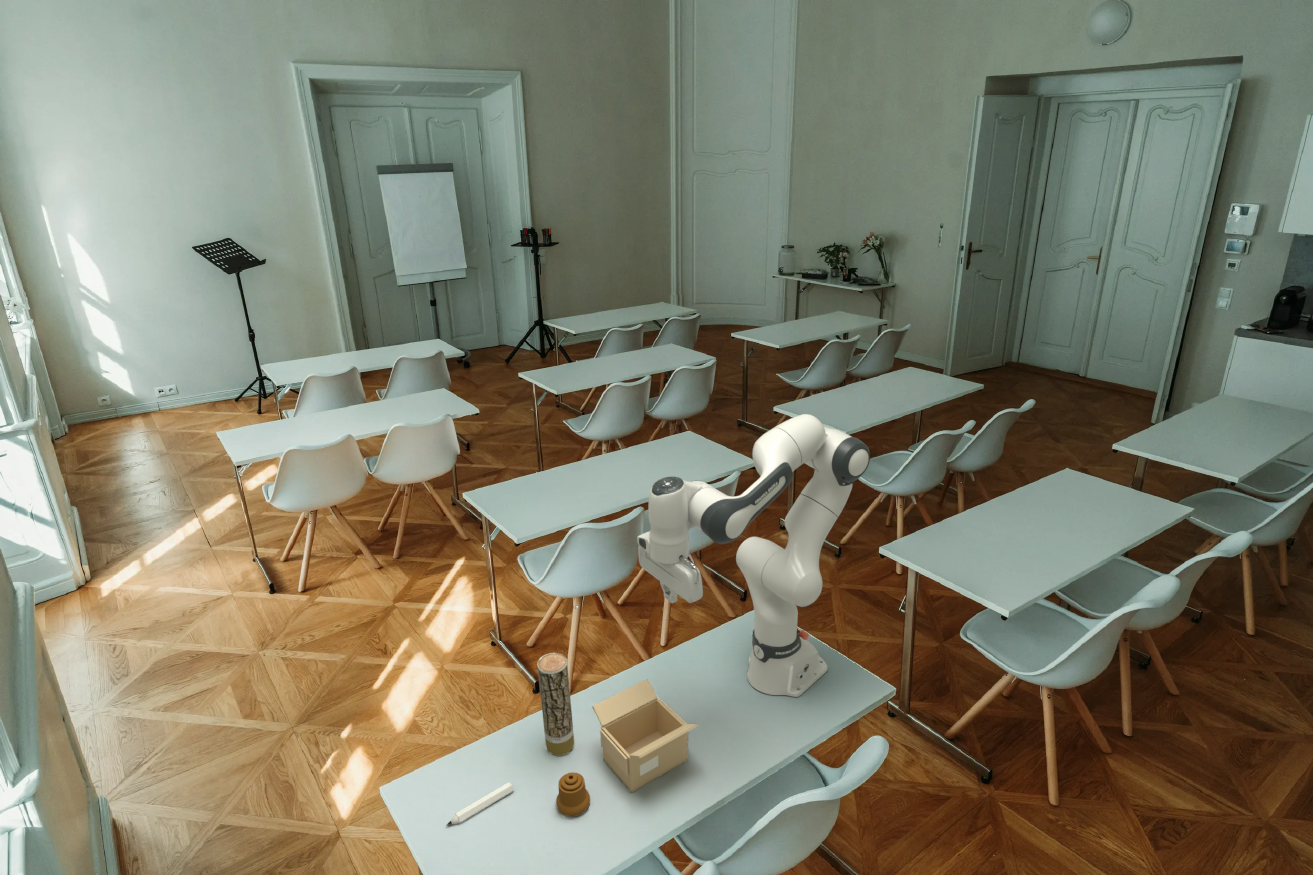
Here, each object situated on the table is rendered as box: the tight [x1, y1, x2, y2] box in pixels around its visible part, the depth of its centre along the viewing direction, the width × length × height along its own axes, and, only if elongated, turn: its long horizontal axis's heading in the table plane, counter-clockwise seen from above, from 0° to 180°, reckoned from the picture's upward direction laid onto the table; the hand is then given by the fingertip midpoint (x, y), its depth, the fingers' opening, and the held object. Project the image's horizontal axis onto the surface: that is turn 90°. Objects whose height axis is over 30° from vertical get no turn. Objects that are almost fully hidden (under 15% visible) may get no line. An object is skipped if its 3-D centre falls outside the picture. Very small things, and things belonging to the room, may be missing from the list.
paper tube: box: [536, 652, 575, 756], centre depth 182 cm, size 7×7×25 cm
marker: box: [445, 781, 515, 827], centre depth 170 cm, size 3×2×16 cm
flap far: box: [591, 678, 658, 727], centre depth 183 cm, size 16×1×5 cm
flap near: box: [629, 723, 698, 758], centre depth 172 cm, size 16×1×5 cm
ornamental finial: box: [555, 771, 591, 817], centre depth 169 cm, size 8×8×8 cm
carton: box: [599, 697, 689, 793], centre depth 180 cm, size 17×12×10 cm
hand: (670, 599), depth 178 cm, fingers closed
